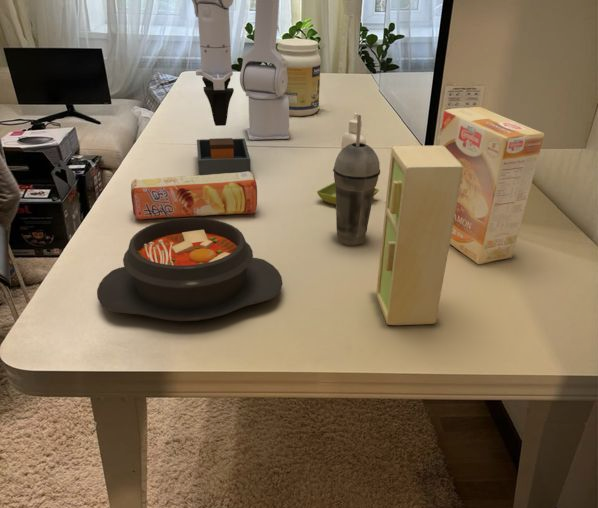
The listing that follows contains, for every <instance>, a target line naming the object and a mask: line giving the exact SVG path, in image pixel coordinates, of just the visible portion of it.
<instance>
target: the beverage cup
mask: <svg viewBox="0 0 598 508" xmlns="http://www.w3.org/2000/svg"><path fill="white" fill-rule="evenodd" d="M360 126H361V127H362V115H361V114H358V118H357V136H356V143H352V144H349V145H347V146H346V147H344V148H343V149H342V148H341V149H340V151H339V153H338V154H337V156H336V159H335V161H334V165H333V169H332V171H333V180H334V182H335V184H336V205H335V216H336V217H335V219H336V222H335V224H336V237H337V238H336V239H337V241H338V242H339V243H340V244H343V245H346V246H359V245H362V244H363V243H365V239H366V234H367V231H368V226H369V220H370V216H371V210H372V205H373V201H374V197H373V195H374V189H375V188H376V187H377V184H378V181H379V176H380V174H381V168H380V165H381V164H380V159H379V157H378V155H377V153H376V152H375V150H374V149H373V148H372V147H371V146H370V145H368V144H367V143H366V144H363V143H360V133H361V132H360Z"/></svg>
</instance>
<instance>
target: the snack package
mask: <svg viewBox="0 0 598 508" xmlns="http://www.w3.org/2000/svg"><path fill="white" fill-rule="evenodd" d="M130 184H131V185H130V186H131V187H130V194H131V195H130V196H131V197H130V198H131V205H132V212H133V216H134V218H136V219H138V220H147V219H149V220H150V219H160V218H161V219H162V218H163V219H164V218H186V217H203V216H214V215H216V216H219V215H221V216H222V215H243V214H254V213H255V212H256V210H257V207H258V186H257V181H256V178H255V175H254V174H253V172H248V171H247V172H240V173H224V174H212V175H199V174H198V175H187V176H170V177H169V176H168V177H167V176H166V177H157V178H148V179H147V178H146V179H141V178H140V179H138V178H135V179H133V180H132V182H131V183H130Z"/></svg>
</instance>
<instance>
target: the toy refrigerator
mask: <svg viewBox="0 0 598 508" xmlns="http://www.w3.org/2000/svg"><path fill="white" fill-rule="evenodd" d="M388 168H389V169H388V179H387V187H386V196H385V198H386V199H385V206H384V207H385V209H384V217H383V225H382V227H383V228H382V235H381V243H380V254H379V262H378V274H377V283H376V291H375V292H376V293H375V296H376V299H377V301H378V304H379V307H380V310H381V312H382V315H383V317H384V320H385V323H386V325H388V326H410V325H411V326H412V325H433V324H436V322H437V317H438V312H439V306H440V301H441V295H442V294H441V293H442V289H443V285H444V284H443V283H444V278H445V272H446V267H447V262H448V255H449V250H450V246H451V244H450V239H451V234H452V228H453V223H454V217H455V212H456V206H457V200H458V195H459V189H460V183H461V178H462V172H463V167H462V165H461V163H460V162H459V161H458V160H457V159H456V158H455V157H454V156H453V155H452V154H451V153H450V152H449V151H448V150H447V148H446V147H444V146H439V145H394V146H392V147H391V150H390V159H389V167H388Z"/></svg>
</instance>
